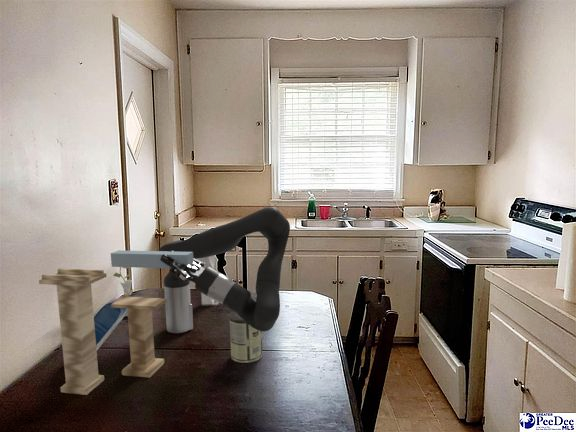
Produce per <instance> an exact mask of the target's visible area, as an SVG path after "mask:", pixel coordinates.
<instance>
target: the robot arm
mask: <svg viewBox="0 0 576 432" xmlns="http://www.w3.org/2000/svg"><path fill="white" fill-rule="evenodd" d="M290 232H291V224H290V222H289V220H288V219H287V218H286V217H285V215H283V214H282V212H281V211H280V210H279V209H278V208H277V207H274V206H267V207H263V208H261V209H258V210H256V211H254V212H251V214H248V215H246V216H244V217H242V218H241V217H240V218H238V219H237V220H233V221H230V222H228V223H225V224H222V225H218V226H216V227H211V228H210V229H207V230H205V231H202V232H200V233H198V234H196V235H193V236H191V237H189V238H187V239H185V240H180V239H179V240H174V241H171V242H167V243H165V244H163V245H162V246H160V248H159V249H158V251H170V252H172V251H173V252H193V260H194V262H193V263H192V266H190V265H186V264H184V263H180V262H178V261H176V260H174V259H172V258H171V257H169V256H167V255H166V254H163V255H162V257H161V259H160V260H161V261H162V262H163V263H165V264H167V265H168V266H170V268H168V269H169V272H167V274H166V275H165V276H164V278H163V287H164V288H163V289H164V290H163V291H164V299H166V303H164V304H165V305H164V306H165V322H166V332H168V333H171V334H180V333H181V334H182V333H186V332H188V331H191V330H194V321H193V320H194V319H193V318H194V316H193V315H194V314H193V304H192V303H191V300H192V299H191V285H190V283H191V282H192V283H194V288H195V290H196V291H198V292H199V293H200V294H201V293H203V294H205V295H206V296H208V297H210V298H211V299H213V300H215V301H216V302H219V304H221V305H223V306H224V307H226V308H228V309H230V310H231V311H232V312H233V311H235V312H236V313H237V314H238V315H239V316H240V317H241V318H242V319H243V320H244V321H245V322H247V323H248V324H249V325H250V326H251V327H253V328H254V329H256V330H259V331H262V332H268V331H270V330H271V329H272V328H274V325H275V323H276V322H277V320H278V319H279V316H280V311H281V299H280V298H281V297H280V289H281V285H280V284H281V275H282V273H281V272H282V265H283V260H284V255H285V251H286V247H287V244H288V239H289V236H290ZM253 233H260V234H261V235H262V236H263V237H264V238H265V239H267V245H268V249H267V253H266V256H265V257H264V258H263V259H262V261H261V262H260V264H259V266H258V269H257V273H256V281H255V294H256V298H255V300H254V299H253V298H252V293H251V292H250V291H249V290H248V289H247V288H245V287H243V286H242V285H240V284H239V283H237V282H235V281H234V280H232V279H231V278H230V277H229V276H227V275H225V274H223V273H221V272H220V271H218V270H216V269H215V267H214V268H212V267H210V266H208V267H207V268H204V265H205V263H204V262H202V261H199V258H204V257H209V256H213V255H215V256H217V255H220V254H223V253H227V252H230V251H232V250H234V249H235V248H236V247H237V246H238V245H239V243H240V242H241V240H242V239H243V238H244V237H246V236H247V235H250V234H253ZM178 265H179V266H180V267H179V266H178ZM183 267H185V268H184V269H182V268H183Z"/></svg>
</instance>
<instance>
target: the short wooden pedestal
mask: <svg viewBox="0 0 576 432" xmlns="http://www.w3.org/2000/svg"><path fill="white" fill-rule="evenodd" d="M123 296H124V295H123ZM165 303H166V299H165V298H161V297H141V296H131V297H126V296H124V297H123V298H121V299H119V300H117V301H116V302H114V303H112V304H111V307H114V308H127V313H128V316H127V323H128V335H129V337H128V338H129V353H130V363H129V364H127V365H126V366H125V367H123V369H122V370H121V375H122V376H127V377H140V378H149V379H150V378H151V377H152V376H154V374H155V373H156V372H157V371H158V370H159V369H160V368H161V367H162V366H163V365H164V364H165V358H158V357H156V356H155V355H156V354H155V342H154V341H155V340H154V327H153V326H154V325H153V311H155V310H157V309H159V308H160V307H162V306H163V305H164V304H165Z"/></svg>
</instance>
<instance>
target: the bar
mask: <svg viewBox="0 0 576 432" xmlns="http://www.w3.org/2000/svg"><path fill="white" fill-rule="evenodd" d="M163 254H166V255H167V256H169V257H171V258H172V259H174V260H176V261H178V262H180V263H184V264H186V265H190V266H192V263H193V262H194V260H193V252H173V251H172V252H170V251H159V250H116V251H113V252H111V253H110V262H111V268H113V267H114V268H120V267H121V268H122V267H129V268H144V269H147V268H148V269H150V268H151V269H169V268H170V266H168V265H167V264H165V263H163V262H162V261H161V260H160V259H161V257H162V255H163ZM178 266H179V265H178ZM179 267H180V266H179ZM184 268H185V267H183V268H182V269H184Z"/></svg>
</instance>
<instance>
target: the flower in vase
mask: <svg viewBox="0 0 576 432" xmlns="http://www.w3.org/2000/svg"><path fill="white" fill-rule="evenodd" d="M129 268H130V267H119V273H118V272H115V273H114V274H113V277H117V278H122V280H121V281H119V284H120V285H121V287H122V288H123V294H124V295H125V294H126V293H128V292H130V291H131V285H132V283H133V280H132V279H127V278H129V277H130V276H131V273H129V274H127V275H126V276H125V277H123V275H122V272H121V271H122V269H129ZM124 295H123V296H124ZM124 317H128V313H127V314H126V315H125V316H124Z"/></svg>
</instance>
